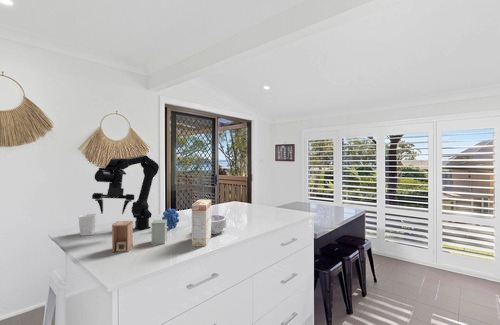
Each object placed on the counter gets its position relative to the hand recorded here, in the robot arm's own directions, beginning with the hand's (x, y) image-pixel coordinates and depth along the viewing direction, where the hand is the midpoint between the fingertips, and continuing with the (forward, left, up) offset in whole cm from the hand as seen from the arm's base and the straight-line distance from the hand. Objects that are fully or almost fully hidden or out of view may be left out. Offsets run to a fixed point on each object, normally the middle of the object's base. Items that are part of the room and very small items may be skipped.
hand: (112, 213), depth 133 cm
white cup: (+4, -19, -13) cm, 24 cm away
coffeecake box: (-26, +38, -13) cm, 47 cm away
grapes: (-30, +8, -13) cm, 33 cm away
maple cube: (+4, +19, -13) cm, 23 cm away
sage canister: (-12, +23, -13) cm, 29 cm away
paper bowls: (-40, +31, -13) cm, 52 cm away
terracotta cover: (+4, +19, -13) cm, 23 cm away
